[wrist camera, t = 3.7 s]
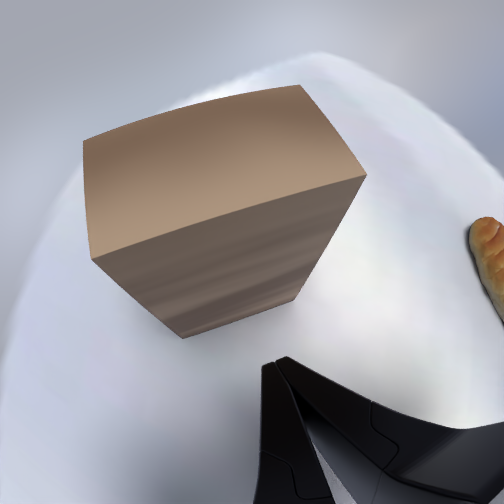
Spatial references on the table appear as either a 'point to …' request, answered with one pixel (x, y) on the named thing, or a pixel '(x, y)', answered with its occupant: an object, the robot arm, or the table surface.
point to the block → (217, 205)
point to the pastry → (490, 258)
